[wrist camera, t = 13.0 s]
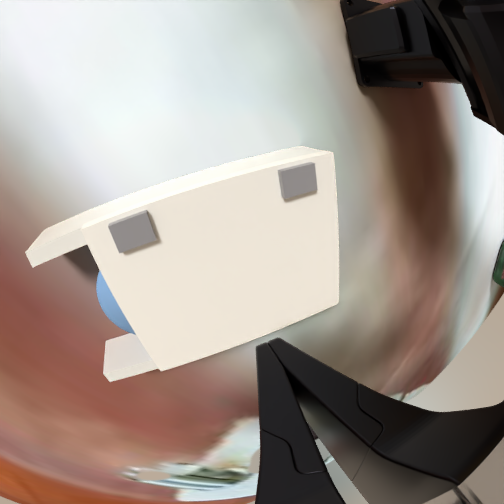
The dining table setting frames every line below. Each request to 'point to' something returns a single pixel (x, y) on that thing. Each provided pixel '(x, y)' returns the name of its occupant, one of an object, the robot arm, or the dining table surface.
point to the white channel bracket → (69, 231)
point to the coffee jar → (500, 268)
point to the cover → (223, 257)
